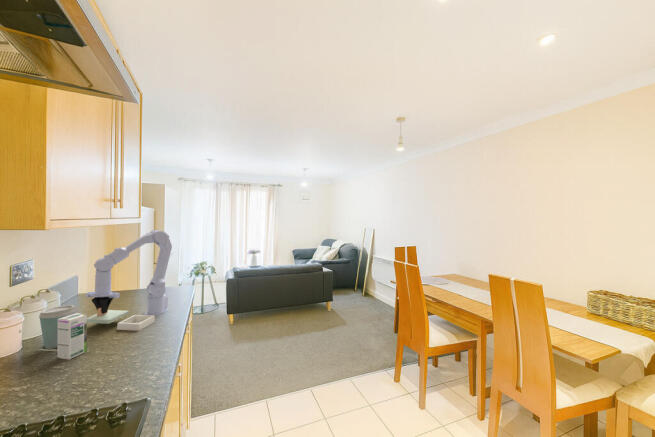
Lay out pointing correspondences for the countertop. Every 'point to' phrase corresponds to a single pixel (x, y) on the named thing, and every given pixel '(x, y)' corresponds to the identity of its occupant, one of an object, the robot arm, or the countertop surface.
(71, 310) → the disposable coffee cup
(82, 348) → the syrup box
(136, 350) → the countertop surface
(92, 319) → the lid
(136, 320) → the tub
